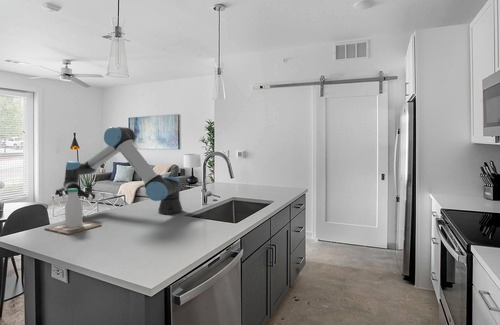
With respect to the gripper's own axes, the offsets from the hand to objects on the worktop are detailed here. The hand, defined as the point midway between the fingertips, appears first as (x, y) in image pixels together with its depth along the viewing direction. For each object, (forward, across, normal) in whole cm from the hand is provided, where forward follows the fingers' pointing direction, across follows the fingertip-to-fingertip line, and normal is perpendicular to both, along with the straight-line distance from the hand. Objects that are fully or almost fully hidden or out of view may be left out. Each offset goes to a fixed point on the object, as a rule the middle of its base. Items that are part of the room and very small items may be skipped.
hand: (78, 198), depth 164 cm
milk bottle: (+11, 0, -13) cm, 17 cm away
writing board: (+11, 0, -14) cm, 17 cm away
